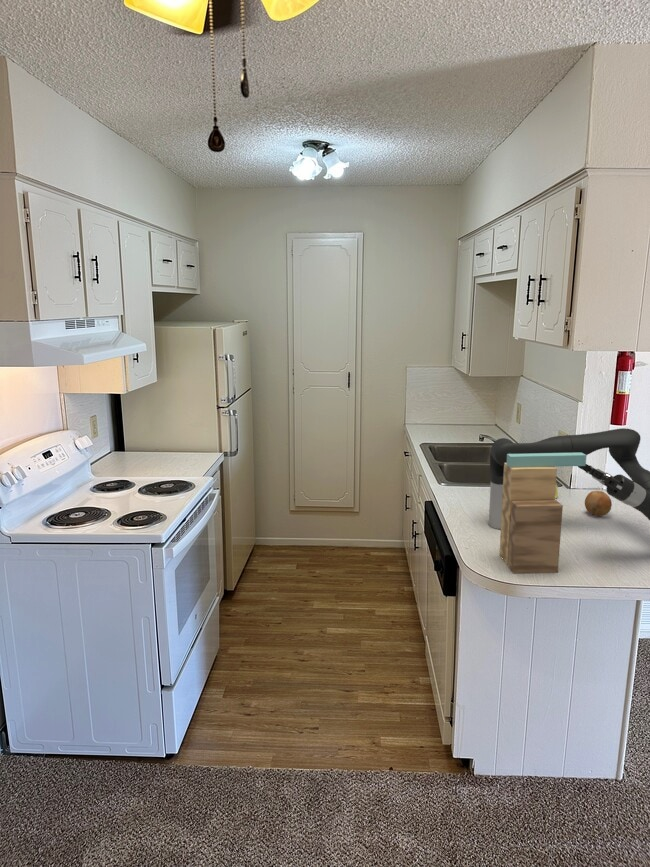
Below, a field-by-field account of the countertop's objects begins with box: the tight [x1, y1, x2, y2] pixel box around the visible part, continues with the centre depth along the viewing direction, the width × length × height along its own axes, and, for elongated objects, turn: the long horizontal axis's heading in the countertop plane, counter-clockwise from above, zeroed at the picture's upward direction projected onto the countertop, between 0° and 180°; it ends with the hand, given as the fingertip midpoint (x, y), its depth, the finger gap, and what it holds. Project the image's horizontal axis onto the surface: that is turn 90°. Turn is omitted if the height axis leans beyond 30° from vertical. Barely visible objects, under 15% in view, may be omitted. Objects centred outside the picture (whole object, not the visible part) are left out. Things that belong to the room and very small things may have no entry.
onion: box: [584, 490, 613, 517], centre depth 234 cm, size 10×10×10 cm
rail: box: [506, 452, 587, 468], centre depth 189 cm, size 4×24×4 cm, turn 92°
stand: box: [499, 463, 558, 566], centre depth 192 cm, size 8×14×32 cm, turn 91°
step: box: [507, 499, 564, 574], centre depth 186 cm, size 5×14×22 cm, turn 91°
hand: (584, 467), depth 189 cm, fingers open, 8 cm apart
